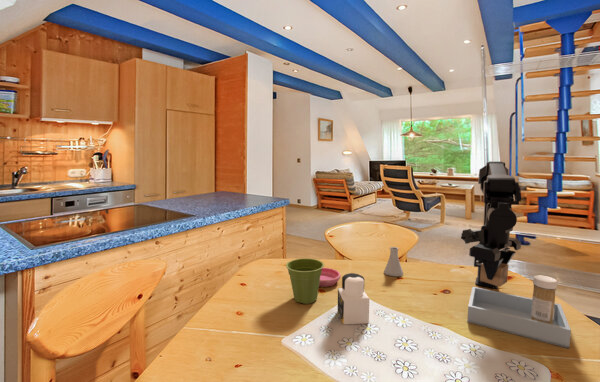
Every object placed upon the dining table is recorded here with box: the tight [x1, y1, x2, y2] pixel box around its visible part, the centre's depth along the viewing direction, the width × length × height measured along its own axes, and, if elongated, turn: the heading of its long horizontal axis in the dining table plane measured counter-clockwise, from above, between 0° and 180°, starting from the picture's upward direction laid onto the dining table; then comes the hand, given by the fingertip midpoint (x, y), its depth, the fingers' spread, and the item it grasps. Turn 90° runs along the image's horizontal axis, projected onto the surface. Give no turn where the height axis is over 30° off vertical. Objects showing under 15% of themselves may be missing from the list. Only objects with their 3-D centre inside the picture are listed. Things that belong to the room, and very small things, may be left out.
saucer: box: [319, 267, 341, 288], centre depth 107 cm, size 12×12×3 cm
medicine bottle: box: [337, 272, 370, 325], centre depth 82 cm, size 7×7×12 cm
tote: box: [466, 286, 572, 349], centre depth 80 cm, size 15×21×4 cm
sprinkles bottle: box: [531, 274, 558, 325], centre depth 75 cm, size 5×5×13 cm
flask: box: [383, 246, 404, 277], centre depth 114 cm, size 7×7×10 cm
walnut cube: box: [480, 263, 509, 288], centre depth 84 cm, size 5×5×5 cm
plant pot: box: [285, 257, 325, 305], centre depth 93 cm, size 12×12×11 cm
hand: (493, 277), depth 84 cm, fingers closed on walnut cube, 5 cm apart
